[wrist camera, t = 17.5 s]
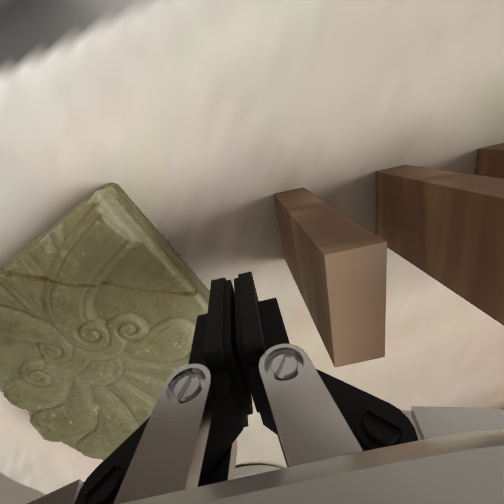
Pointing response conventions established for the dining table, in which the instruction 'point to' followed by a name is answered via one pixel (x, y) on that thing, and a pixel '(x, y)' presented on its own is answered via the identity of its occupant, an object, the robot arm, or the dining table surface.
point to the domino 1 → (336, 275)
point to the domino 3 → (490, 161)
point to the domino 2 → (447, 229)
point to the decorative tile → (95, 323)
